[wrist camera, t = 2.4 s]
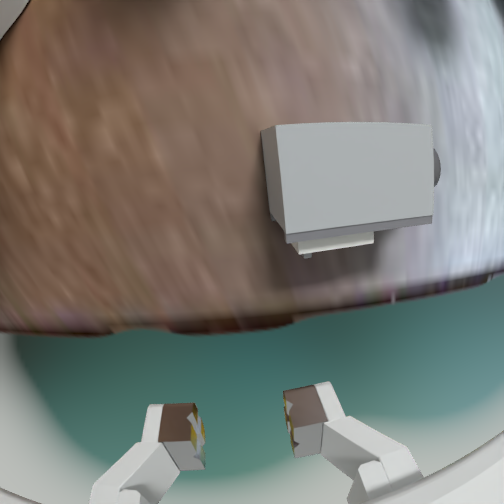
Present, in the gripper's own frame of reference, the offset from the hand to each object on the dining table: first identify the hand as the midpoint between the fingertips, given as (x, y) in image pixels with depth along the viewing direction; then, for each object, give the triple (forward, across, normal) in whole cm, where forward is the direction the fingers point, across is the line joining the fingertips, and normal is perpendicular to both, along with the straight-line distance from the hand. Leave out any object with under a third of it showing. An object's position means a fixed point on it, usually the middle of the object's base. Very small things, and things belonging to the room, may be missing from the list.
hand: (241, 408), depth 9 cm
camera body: (+19, -10, -5) cm, 22 cm away
